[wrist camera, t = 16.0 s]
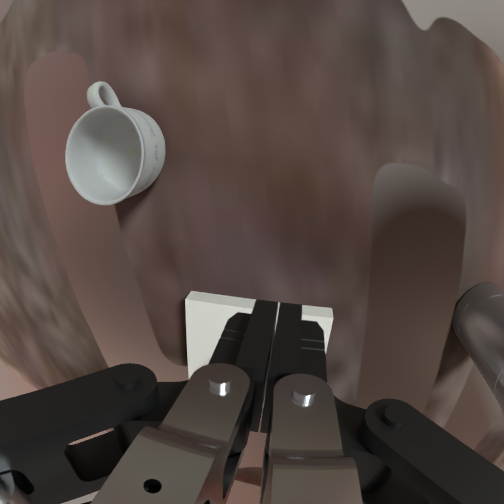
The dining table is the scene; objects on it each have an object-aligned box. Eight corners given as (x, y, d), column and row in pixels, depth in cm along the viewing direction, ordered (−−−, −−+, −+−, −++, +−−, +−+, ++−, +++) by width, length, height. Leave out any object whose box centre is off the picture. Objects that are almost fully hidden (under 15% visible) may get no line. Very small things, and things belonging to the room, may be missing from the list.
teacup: (176, 193, 38) (146, 205, 30) (102, 196, 39) (65, 207, 32) (174, 80, 33) (143, 66, 26) (99, 93, 35) (61, 87, 28)
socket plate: (331, 308, 39) (333, 318, 37) (313, 390, 44) (313, 401, 41) (191, 290, 41) (185, 299, 39) (194, 373, 46) (189, 383, 44)
